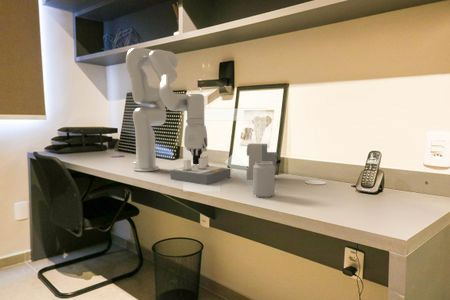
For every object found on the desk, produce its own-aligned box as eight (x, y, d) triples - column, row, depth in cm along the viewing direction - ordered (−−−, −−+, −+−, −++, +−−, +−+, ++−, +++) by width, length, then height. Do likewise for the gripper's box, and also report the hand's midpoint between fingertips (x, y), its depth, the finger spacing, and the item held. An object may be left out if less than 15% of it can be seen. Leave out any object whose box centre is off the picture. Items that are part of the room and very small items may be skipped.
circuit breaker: (279, 180, 139) (280, 145, 137) (246, 179, 142) (246, 145, 140) (280, 177, 146) (281, 143, 144) (248, 176, 149) (248, 143, 147)
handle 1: (182, 169, 140) (182, 159, 139) (187, 168, 142) (187, 158, 142) (187, 170, 138) (187, 160, 138) (192, 169, 141) (192, 159, 140)
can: (257, 199, 110) (258, 164, 109) (249, 193, 117) (250, 160, 116) (278, 197, 112) (278, 162, 111) (269, 192, 119) (269, 159, 118)
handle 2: (200, 165, 150) (200, 156, 149) (204, 165, 152) (204, 155, 152) (205, 166, 148) (205, 156, 148) (209, 165, 151) (209, 156, 150)
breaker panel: (170, 179, 143) (170, 169, 143) (196, 173, 157) (195, 163, 156) (206, 184, 132) (206, 173, 131) (230, 177, 146) (230, 167, 145)
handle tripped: (197, 168, 143) (197, 158, 142) (202, 167, 145) (202, 157, 145) (202, 169, 141) (202, 159, 141) (207, 168, 144) (207, 158, 143)
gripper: (177, 122, 144) (178, 163, 146) (203, 123, 136) (204, 166, 138) (188, 122, 150) (189, 161, 152) (214, 122, 142) (215, 164, 144)
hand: (196, 163), depth 145 cm, fingers closed
